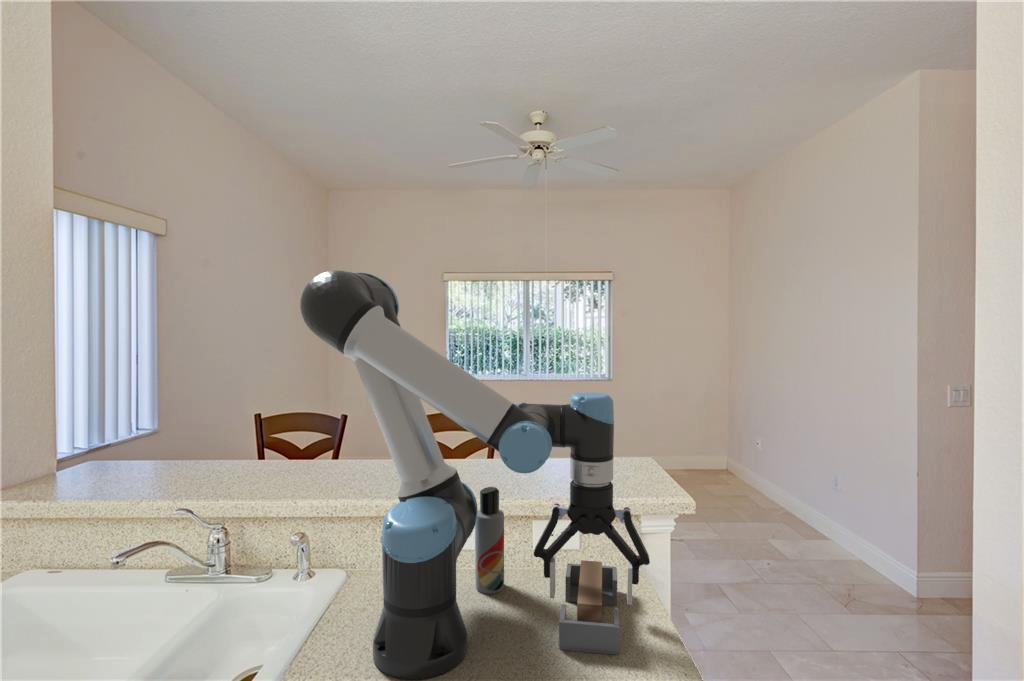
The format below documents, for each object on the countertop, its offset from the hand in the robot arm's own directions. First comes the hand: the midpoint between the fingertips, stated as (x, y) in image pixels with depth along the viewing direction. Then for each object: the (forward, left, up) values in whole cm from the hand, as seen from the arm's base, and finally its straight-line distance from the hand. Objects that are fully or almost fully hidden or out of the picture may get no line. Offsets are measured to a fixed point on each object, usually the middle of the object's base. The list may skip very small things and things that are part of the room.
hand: (590, 597), depth 102 cm
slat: (0, 0, -3) cm, 3 cm away
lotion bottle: (-20, +8, -4) cm, 22 cm away
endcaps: (0, 0, -4) cm, 4 cm away
